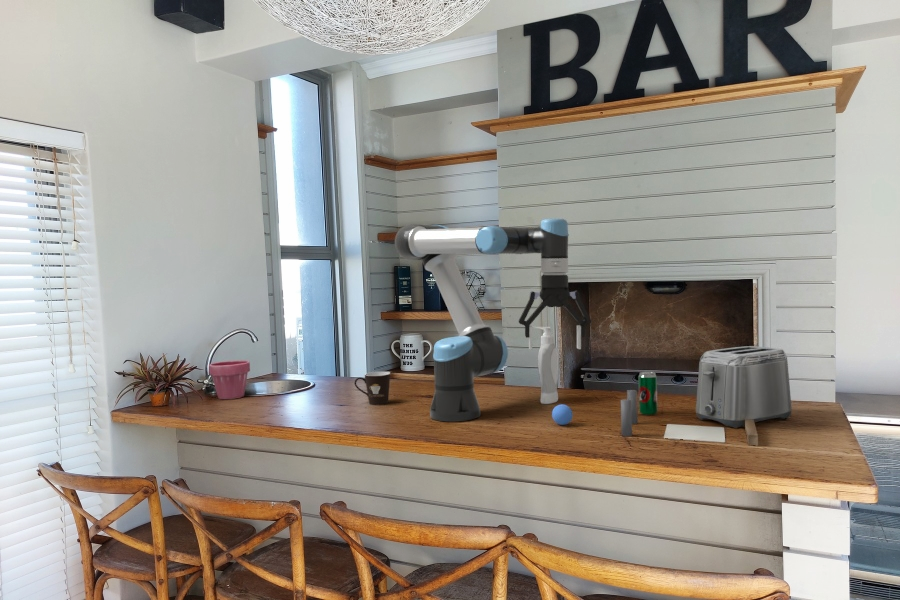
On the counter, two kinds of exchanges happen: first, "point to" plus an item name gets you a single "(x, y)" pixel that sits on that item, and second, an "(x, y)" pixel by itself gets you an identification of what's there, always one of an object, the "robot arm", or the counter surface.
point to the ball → (562, 414)
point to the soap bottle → (548, 367)
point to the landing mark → (695, 433)
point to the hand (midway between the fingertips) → (554, 348)
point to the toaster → (743, 385)
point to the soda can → (647, 393)
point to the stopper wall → (751, 432)
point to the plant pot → (230, 378)
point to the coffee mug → (376, 387)
